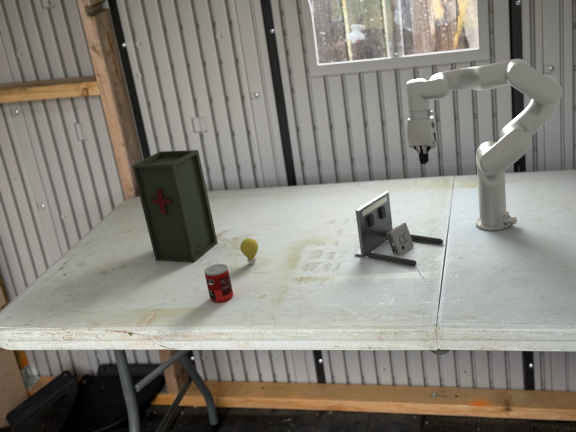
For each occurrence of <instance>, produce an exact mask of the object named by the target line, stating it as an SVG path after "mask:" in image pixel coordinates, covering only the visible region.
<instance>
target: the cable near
mask: <svg viewBox="0 0 576 432" xmlns="http://www.w3.org/2000/svg"><path fill="white" fill-rule="evenodd" d="M365 257H366V258H368V259H374V260H379V261H385V262H389V263H390V262H391V263H394V264H400V265H405V266H412V267H415V266H417V260H415V259H410V258H409V259H408V258H405V257H398V256H392V255H387V254H383V253H382V254H380V253H376V252H368V253H367V254H366V256H365Z"/></svg>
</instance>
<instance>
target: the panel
mask: <svg viewBox="0 0 576 432" xmlns="http://www.w3.org/2000/svg"><path fill="white" fill-rule="evenodd" d="M355 217H356V225H357V226H356V227H357V232H358V242H359V248H360V249H359V250H357V251H356V252H355V253H354V256H355V257H360V258H361V257H362V258H366V257H367V256H366V254H367V253H368V252H371V253H373V252H374V251H375V250H377V248H379V247H380V246H382V245H383V244H385V243H386V242H388V239H387V236H386V234H387V233H388V232H389V231H391V230H392V229H394V228H393V219H392V210H391V201H390V192H389V191H387V190H386V191H384V192H382V193H381V194H380V195H377V196H376V197H374V198H373V199H372V200H370V201H368V202H366V203H365V204H363V205H361V206H360V207H359V208H357V209H355Z"/></svg>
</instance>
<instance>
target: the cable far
mask: <svg viewBox="0 0 576 432" xmlns="http://www.w3.org/2000/svg"><path fill="white" fill-rule="evenodd" d="M410 235H411V238H412V241H417V242H422V243H430V244H435V245H436V244H437V245H442V244H443V243H444V240H443V239H442V238H438V237H432V236H424V235H418V234H413V233H410Z"/></svg>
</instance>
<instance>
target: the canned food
mask: <svg viewBox="0 0 576 432" xmlns="http://www.w3.org/2000/svg"><path fill="white" fill-rule="evenodd" d="M203 272H204V277H205V280H206V282H205V283H206V286H207V290H208V295H209V298H210V301H211V302H213V303H215V304H216V303H217V304H219V303H226V302H228V301H230V300H231V299H232V298H233V296H234V291H233V286H232V281H231V275H230V271H229V267H228V265H226V264H224V263H217V264H212V265H210V266H207V267H206V268H205V269H204V271H203Z"/></svg>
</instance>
